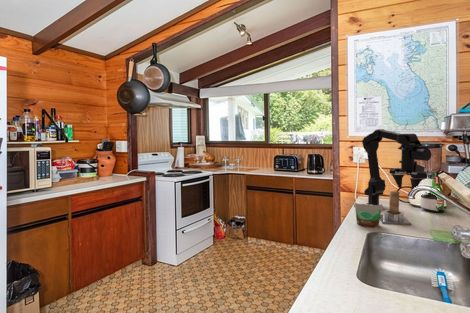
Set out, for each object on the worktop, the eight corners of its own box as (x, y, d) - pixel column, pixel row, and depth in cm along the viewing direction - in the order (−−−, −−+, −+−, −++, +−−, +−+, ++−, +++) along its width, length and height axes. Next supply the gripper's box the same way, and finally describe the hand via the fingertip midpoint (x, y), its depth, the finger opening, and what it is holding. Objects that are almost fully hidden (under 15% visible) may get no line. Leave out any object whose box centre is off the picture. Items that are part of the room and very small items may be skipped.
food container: (353, 226, 138) (354, 204, 137) (353, 222, 144) (353, 201, 143) (383, 229, 134) (384, 206, 133) (382, 225, 140) (382, 203, 139)
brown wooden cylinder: (389, 217, 149) (390, 190, 148) (398, 218, 147) (399, 191, 146) (388, 219, 146) (389, 192, 144) (397, 220, 143) (399, 193, 142)
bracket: (377, 216, 153) (377, 208, 153) (403, 217, 150) (404, 209, 150) (382, 223, 142) (382, 215, 142) (411, 225, 139) (411, 216, 138)
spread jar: (426, 212, 158) (427, 190, 157) (413, 207, 170) (414, 186, 169) (449, 212, 159) (450, 190, 158) (434, 206, 170) (435, 186, 169)
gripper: (437, 160, 144) (436, 192, 145) (407, 156, 162) (406, 185, 163) (417, 161, 141) (416, 194, 143) (389, 157, 160) (388, 187, 161)
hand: (406, 190), depth 153 cm, fingers open, 9 cm apart
